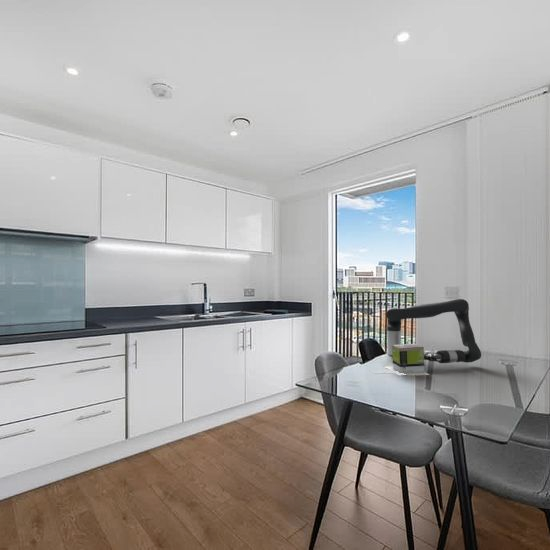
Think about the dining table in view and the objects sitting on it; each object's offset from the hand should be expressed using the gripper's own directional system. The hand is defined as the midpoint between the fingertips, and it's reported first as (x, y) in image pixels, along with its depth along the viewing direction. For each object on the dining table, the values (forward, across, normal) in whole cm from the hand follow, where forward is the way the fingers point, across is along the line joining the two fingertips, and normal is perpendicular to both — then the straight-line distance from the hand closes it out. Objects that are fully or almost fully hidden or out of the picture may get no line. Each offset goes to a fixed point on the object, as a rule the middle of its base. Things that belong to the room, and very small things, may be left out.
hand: (419, 357), depth 196 cm
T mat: (+15, 0, +7) cm, 17 cm away
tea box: (+8, 0, +7) cm, 10 cm away
